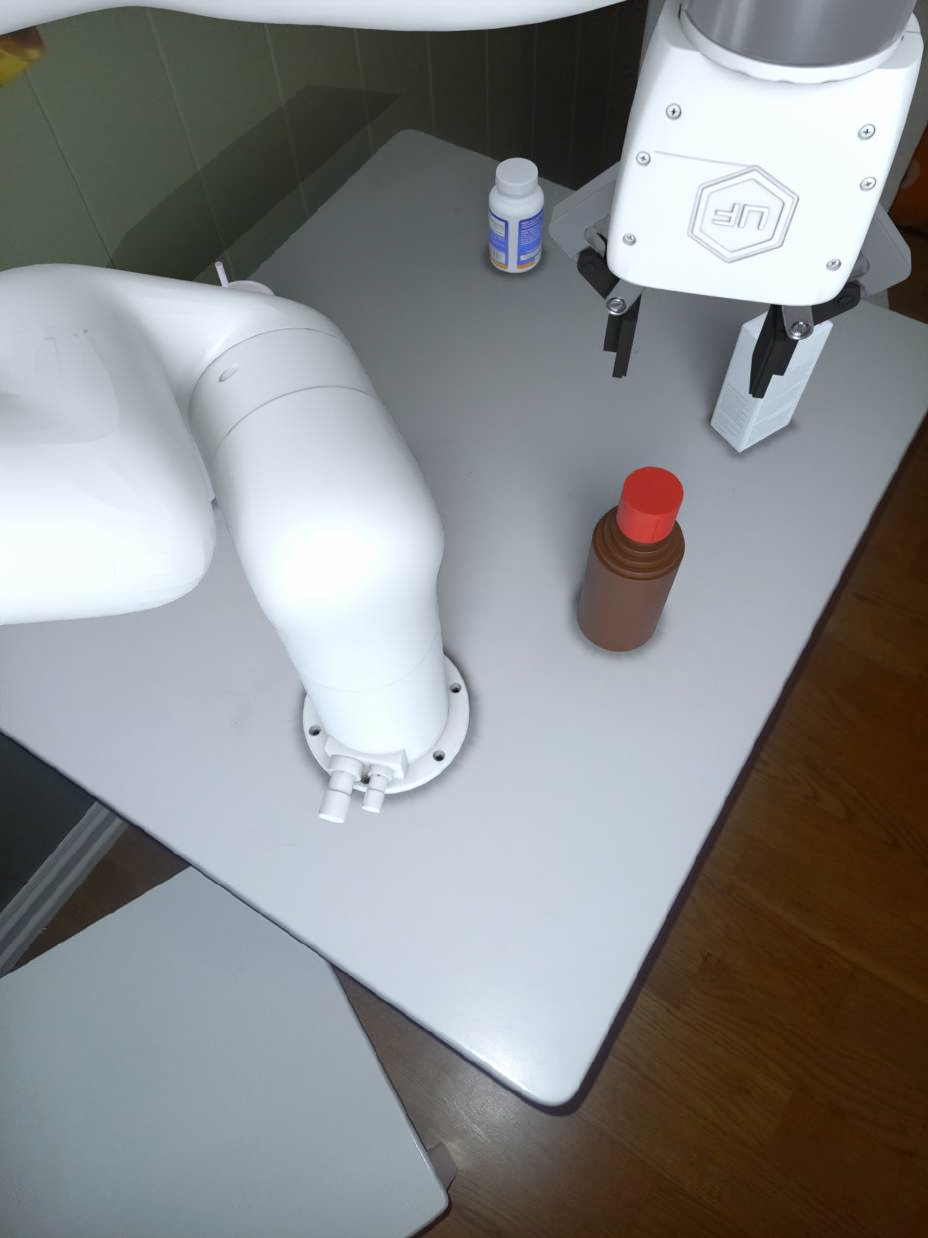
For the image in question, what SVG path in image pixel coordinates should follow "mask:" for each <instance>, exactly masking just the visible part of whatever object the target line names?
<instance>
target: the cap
mask: <svg viewBox="0 0 928 1238" xmlns="http://www.w3.org/2000/svg"><path fill="white" fill-rule="evenodd" d="M684 492H685V491H684V487H683V484H682V482H681V481H680V479H679V478H678V477H677V476H676V475H675V474H674V473H673V472H671V471H669V470H667V469H666V468H663V467H659V466H644V467H643V466H642V467H640V468H638V469H635V470H634V471H632V472H631V473H630V474H628V475H627V477H626V478H625V480H624V482H623V484H622V489H621V493H620V498H619V502H618V505H619V506H618V510H617V515H616V520H617V524H618V526H619V528H620V530H621V531H622V532H623V533H624V534H625V535H626V536H627V537H629V538H630V539H632V540H634V541H637V542H641V543H653V542H657V541H660V540H662V539H664V538H665V537H667V536H668V535H669V534H670V532H671V531H672V529H673V526H674V523H675V520H676V521H677V517H678V514H679V511H680V509H681V506H682V502H683V500H684V496H685V495H684V494H685V493H684Z"/></svg>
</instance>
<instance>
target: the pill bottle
mask: <svg viewBox="0 0 928 1238" xmlns="http://www.w3.org/2000/svg"><path fill="white" fill-rule="evenodd" d="M494 183H495V184H494V186H493V187H492V188H491V189H490V191H489V195H488V254H489V260H490V262H491V264H492V265H493V266H494V267H495V268H496V269H498V270H499V271H502V272H506V273H509V274H521V273H525V272H528V271H529V270H532V269H533V268H534V267H535V266H536V265H537V264H538V263H540V260H541V257H542V248H543V245H542V244H543V230H544V229H543V228H544V226H543V225H544V210H545V209H544V207H545V195H544V191H543V189H542V187H541V185H539V170H538V167H537V165H536V163H534V162H533V161H531V160H529V159H527V158H523V157H511V158H508V159H505V160H503V161H502V162H500V163H499V164H498V166H497V167H496V169H495V180H494Z"/></svg>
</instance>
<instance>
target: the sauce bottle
mask: <svg viewBox="0 0 928 1238" xmlns="http://www.w3.org/2000/svg"><path fill="white" fill-rule="evenodd" d="M618 506H619V504H617V505H615V506H613V507H612V508H610V509H609V510H607V511H606V512H605V513H604V514H603V515H601V517H600V518H599V519H598V521H597V522H596V523H595V526H594V528H593V530H592V535H591V540H590V545H589V550H588V555H587V559H586V565H585V569H584V574H583V580H582V584H581V589H580V595H579V600H578V605H577V611H576V616H577V618H576V619H577V622H578V626H579V628H580V630H581V632H582V633H583V635H584V636H585V637H586V638H587V639H588V641H590V642H591V643H593V644H594V645H595V646H597V647H599V648H601V649H603V650H606V651H610V652H616V653H617V652H618V653H620V652H629V651H634V650H636V649H638V648H640V647H642V646H643V645H645V644H646V643H647V642H649V640H650V639H651V638H652V637H653V635H654V633H655V631H656V629H657V626H658V624H659V621H660V618H661V615H662V614H663V611H664V608H665V607H666V606H665V605H666V603H667V601H668V597H669V594H670V593H671V590H672V587H673V585H674V582H675V579H676V578H677V574H678V572H679V569H680V567H681V564H682V562H683V559H684V556H685V552H686V542H685V541H686V540H685V537H684V532H683V530H682V527H681V525H680V524H679V522H678V520H677V519H676V520H675V523H674V526H673V529H672V531H671V532H670V534H669V535H668V536H667V537H665V538H664V539H662V540H660V541H657V542H653V543H641V542H637V541H634V540H632V539H630V538H629V537H627V536H626V535H625V534H624V533H623V532H622V531H621V530H620V528H619V526H618V524H617V520H616V515H617V510H618Z"/></svg>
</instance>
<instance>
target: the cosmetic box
mask: <svg viewBox="0 0 928 1238" xmlns="http://www.w3.org/2000/svg"><path fill="white" fill-rule="evenodd" d="M767 313H768V310H767V311H765V312H763V313H761V314H760V315H758V316H756V317H754V318H752V319H750V320H748V321H746V322H744V323H743V324H742V325H741V328H740V331H739V335H738V338H737V339H736V340H737V341H736V342H735V346H734V349H733V352H732V355H731V359H730V362H729V365H728V368H727V371H726V373H725V376H724V380H723V383H722V386H721V389H720V391H719V395H718V398H717V401H716V403H715V407H714V410H713V412H712V416H711V419H710V426H711V427H712V428H713V429H714V430H715V431H716V433H718V434H719V435H720V436H721V437H722V438H723V439H724V440H726V442H727V443H728V444H729V445H730V446H731V447H733V449H734V450H735V451H737V452H738V453H742V452H744V451H745V450H747V449H749V448H750V447H752V446H753V445H755V444H757V443H759V442H761V441H762V440H763V439H766V438H768V437H769V436H770V435H773V434H774V433H776V432H778V431H780V430H781V429H783V428H784V427H786V426H788V425H789V424H790V422H791V419H792V417H793V415H794V413H795V411H796V408H797V406H798V404H799V402H800V400H801V398H802V395H803V393H804V391H805V389H806V386H807V384H808V382H809V379H810V377H811V375H812V374H813V373H812V372H813V371H814V369H815V367H816V364H817V362H818V360H819V357H820V355H821V353H822V351H823V349H824V346H825V344H826V342H827V340H828V337H829V335H830V333H831V331H832V328H833V326H834V323H833V322H832V321H831V320H830V319H829V320H827V321H824V322H822V323H820V324H818V325H816V326H814V331H813V333H812V334H811V335H810V336H809V337H807V338H806V339H802V340H799V342H798V344H797V346H796V349H795V351H794V353H793V356H792V358H791V360H790V363H789V365H788V367H787V370H786V372H785V374H784V376H779V375H773V376H772V379H771V381H770V384H769V386H768V388H767V391H766V393H765V396H764V398H763V399H760V398H753V397H752V394H749V384H750V372H751V361H752V354H753V350H754V348H755V345H756V342H757V340H758V337H759V334H760V332H761V329H762V326H763V324H764V321H765V318H766V316H767Z"/></svg>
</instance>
